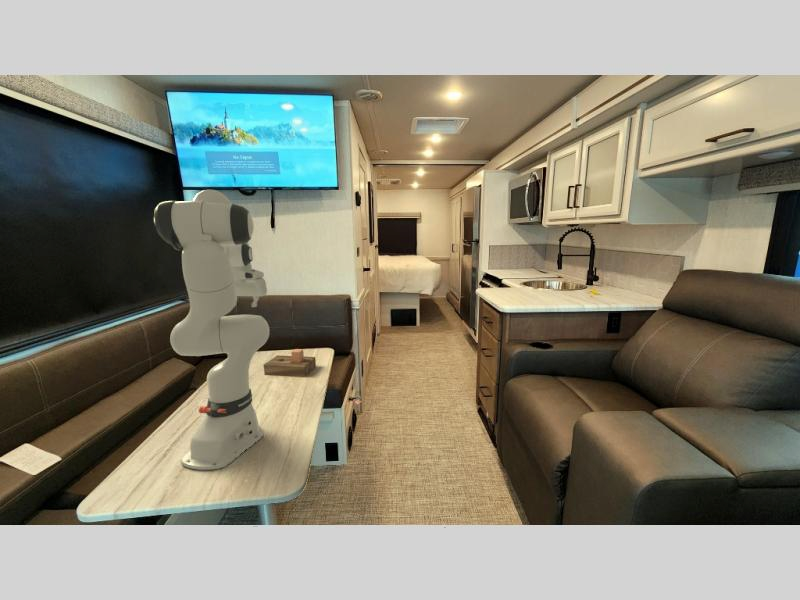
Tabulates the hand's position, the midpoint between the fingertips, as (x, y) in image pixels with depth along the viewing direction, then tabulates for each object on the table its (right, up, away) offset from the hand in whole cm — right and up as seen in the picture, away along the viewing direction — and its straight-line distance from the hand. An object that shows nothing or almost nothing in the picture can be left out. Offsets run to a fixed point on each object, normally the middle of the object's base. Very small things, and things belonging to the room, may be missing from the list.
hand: (244, 306), depth 131 cm
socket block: (+13, -31, +18) cm, 38 cm away
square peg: (+17, -31, +18) cm, 40 cm away
